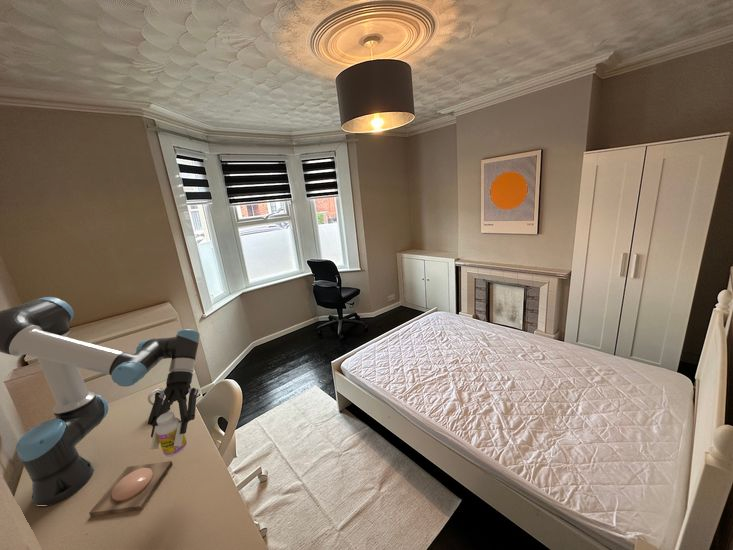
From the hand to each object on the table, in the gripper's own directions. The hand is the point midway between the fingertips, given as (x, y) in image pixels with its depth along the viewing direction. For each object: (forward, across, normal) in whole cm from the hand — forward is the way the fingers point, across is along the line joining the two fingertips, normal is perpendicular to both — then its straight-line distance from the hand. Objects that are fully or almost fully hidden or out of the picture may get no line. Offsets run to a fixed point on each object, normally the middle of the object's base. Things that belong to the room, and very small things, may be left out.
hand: (165, 447), depth 92 cm
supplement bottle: (+1, 0, -6) cm, 6 cm away
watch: (-18, +33, -43) cm, 57 cm away
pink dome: (+9, +17, -13) cm, 23 cm away
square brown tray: (+10, +17, -14) cm, 24 cm away
